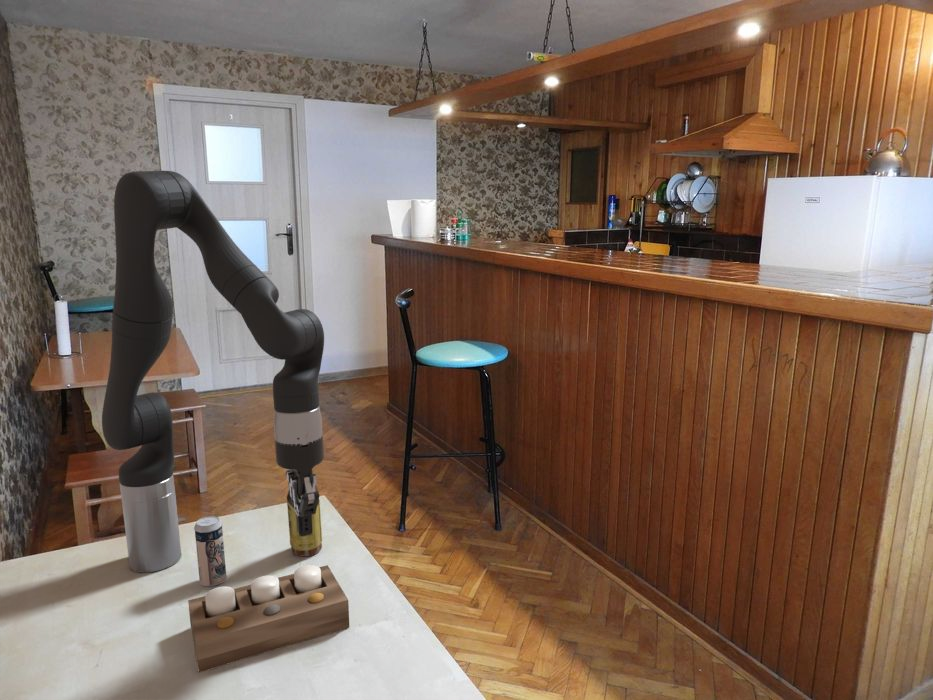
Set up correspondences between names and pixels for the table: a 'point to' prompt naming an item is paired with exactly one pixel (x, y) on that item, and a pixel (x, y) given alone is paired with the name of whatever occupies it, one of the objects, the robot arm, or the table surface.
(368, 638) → the table surface
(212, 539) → the beer can
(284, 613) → the button board
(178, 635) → the table surface
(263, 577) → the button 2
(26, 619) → the table surface
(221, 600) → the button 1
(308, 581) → the button
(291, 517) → the sauce bottle
